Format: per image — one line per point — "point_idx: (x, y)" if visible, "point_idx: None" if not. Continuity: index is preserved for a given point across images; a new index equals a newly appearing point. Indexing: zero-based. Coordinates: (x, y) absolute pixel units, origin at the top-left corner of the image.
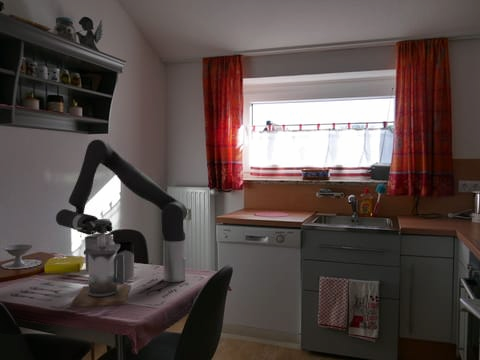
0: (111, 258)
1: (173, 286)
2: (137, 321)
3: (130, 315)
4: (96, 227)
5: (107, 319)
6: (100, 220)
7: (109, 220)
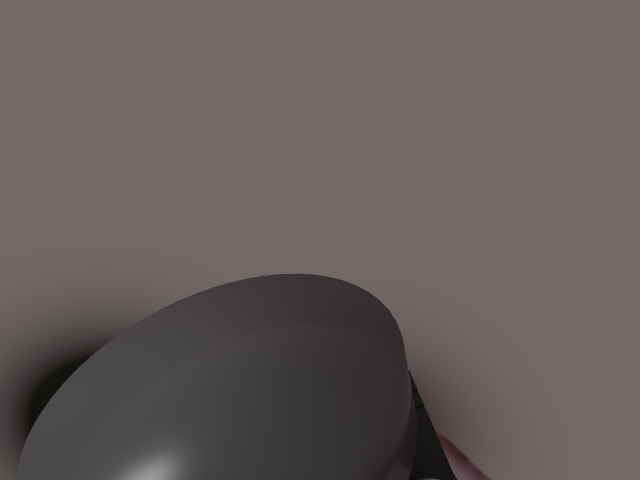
0: None
1: None
2: None
3: None
4: None
5: (454, 449)
6: (287, 325)
7: (122, 344)
